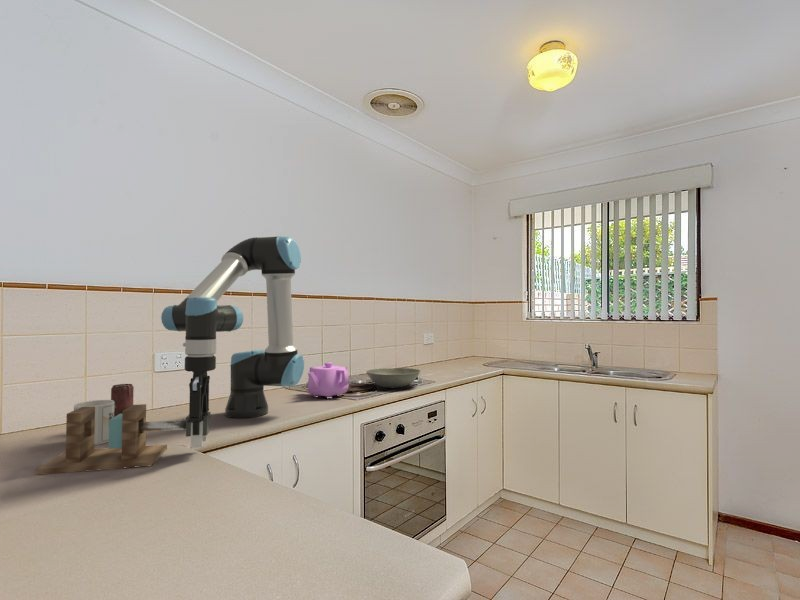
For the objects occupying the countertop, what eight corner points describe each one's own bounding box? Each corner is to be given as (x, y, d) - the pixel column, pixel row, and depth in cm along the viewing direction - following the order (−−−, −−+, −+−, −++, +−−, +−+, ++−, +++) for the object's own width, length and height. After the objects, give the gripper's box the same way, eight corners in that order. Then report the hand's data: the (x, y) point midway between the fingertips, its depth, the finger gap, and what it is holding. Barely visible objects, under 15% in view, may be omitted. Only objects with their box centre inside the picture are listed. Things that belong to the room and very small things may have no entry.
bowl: (426, 383, 235) (426, 368, 235) (412, 393, 208) (412, 375, 208) (377, 381, 242) (377, 366, 243) (358, 390, 216) (358, 372, 216)
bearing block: (167, 449, 122) (167, 401, 122) (151, 466, 108) (152, 412, 109) (66, 455, 116) (67, 405, 116) (36, 474, 102) (37, 417, 103)
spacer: (132, 439, 117) (132, 413, 117) (122, 447, 110) (122, 419, 110) (119, 440, 116) (119, 413, 116) (108, 448, 109) (109, 420, 109)
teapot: (307, 401, 188) (308, 365, 188) (305, 393, 206) (305, 360, 206) (352, 399, 193) (353, 364, 193) (346, 391, 211) (347, 359, 211)
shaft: (210, 430, 120) (210, 411, 120) (206, 435, 115) (207, 415, 116) (123, 435, 115) (123, 415, 115) (116, 440, 110) (116, 420, 111)
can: (122, 431, 140) (123, 386, 140) (105, 430, 141) (106, 385, 141) (137, 426, 146) (138, 383, 146) (121, 425, 147) (122, 383, 147)
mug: (123, 438, 132) (124, 401, 132) (83, 450, 121) (84, 409, 121) (98, 435, 135) (98, 398, 136) (56, 446, 124) (57, 406, 124)
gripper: (192, 352, 126) (191, 435, 125) (176, 359, 108) (174, 455, 108) (221, 352, 128) (219, 434, 127) (209, 358, 110) (207, 453, 109)
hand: (198, 443), depth 117 cm, fingers closed on shaft, 5 cm apart
